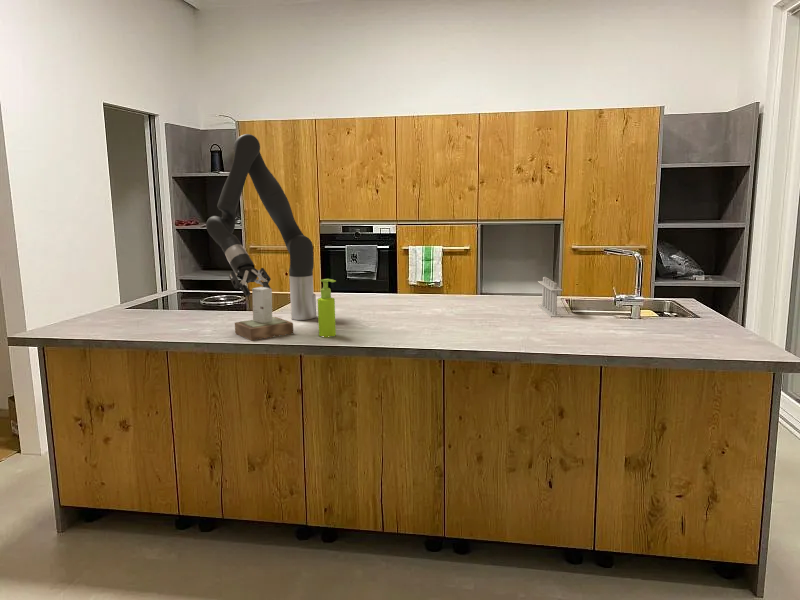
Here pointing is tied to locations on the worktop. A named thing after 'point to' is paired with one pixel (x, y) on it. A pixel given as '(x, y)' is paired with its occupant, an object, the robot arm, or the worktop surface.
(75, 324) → the worktop surface
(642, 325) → the worktop surface
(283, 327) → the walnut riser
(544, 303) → the test tube rack
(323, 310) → the soap dispenser
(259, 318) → the skincare box
